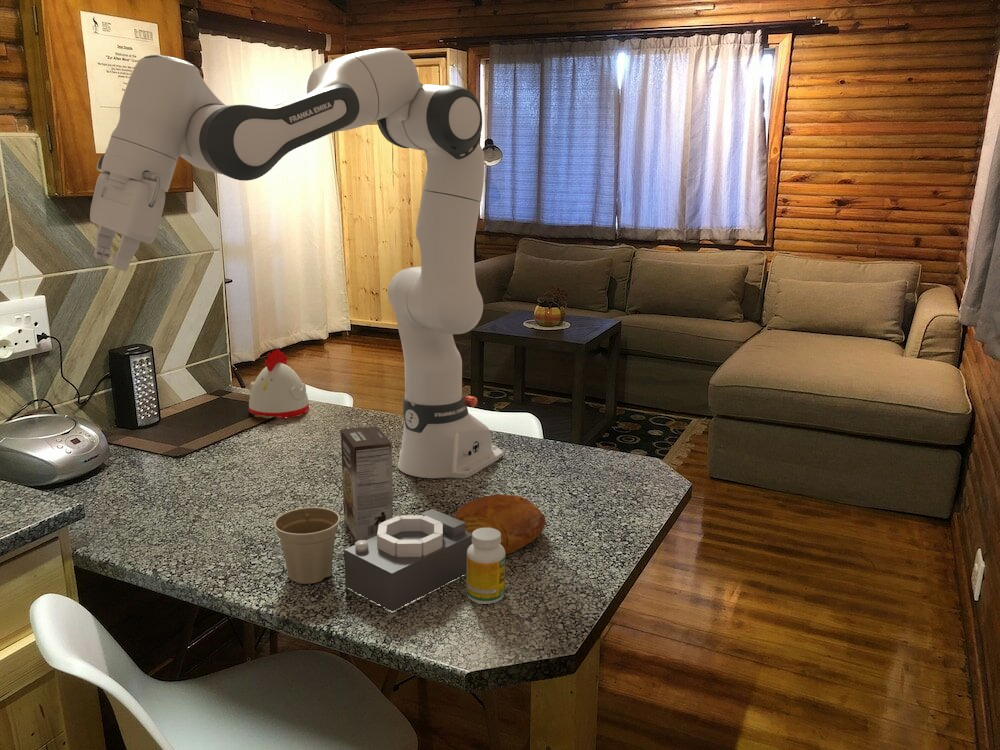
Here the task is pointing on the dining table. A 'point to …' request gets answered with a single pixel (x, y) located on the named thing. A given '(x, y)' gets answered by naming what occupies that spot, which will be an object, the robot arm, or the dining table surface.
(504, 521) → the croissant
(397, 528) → the camera body
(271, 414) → the kitchen timer
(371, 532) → the coffee box
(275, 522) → the flower pot
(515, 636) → the dining table surface
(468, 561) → the supplement bottle
